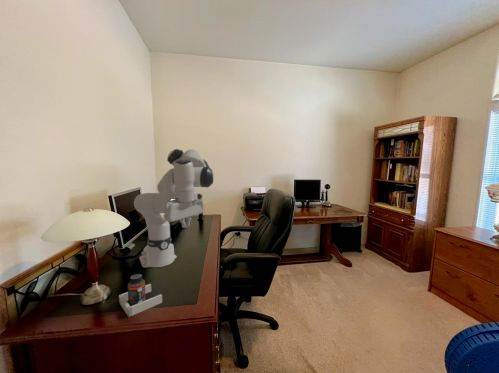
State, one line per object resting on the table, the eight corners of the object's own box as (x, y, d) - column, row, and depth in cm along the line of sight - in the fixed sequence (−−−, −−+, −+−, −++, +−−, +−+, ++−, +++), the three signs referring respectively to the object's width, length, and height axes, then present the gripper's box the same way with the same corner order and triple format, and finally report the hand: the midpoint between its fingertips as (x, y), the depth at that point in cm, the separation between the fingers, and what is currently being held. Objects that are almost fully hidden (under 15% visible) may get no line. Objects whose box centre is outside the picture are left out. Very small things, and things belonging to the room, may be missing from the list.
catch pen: (119, 302, 86) (118, 295, 86) (150, 290, 94) (150, 283, 94) (128, 317, 78) (128, 309, 77) (162, 302, 86) (161, 295, 86)
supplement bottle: (145, 306, 83) (144, 278, 82) (127, 310, 81) (126, 281, 80) (146, 298, 89) (144, 271, 88) (129, 302, 86) (128, 274, 85)
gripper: (170, 200, 87) (172, 234, 88) (205, 194, 104) (206, 222, 106) (160, 199, 90) (161, 232, 92) (195, 193, 108) (196, 220, 109)
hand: (185, 226), depth 99 cm, fingers closed
